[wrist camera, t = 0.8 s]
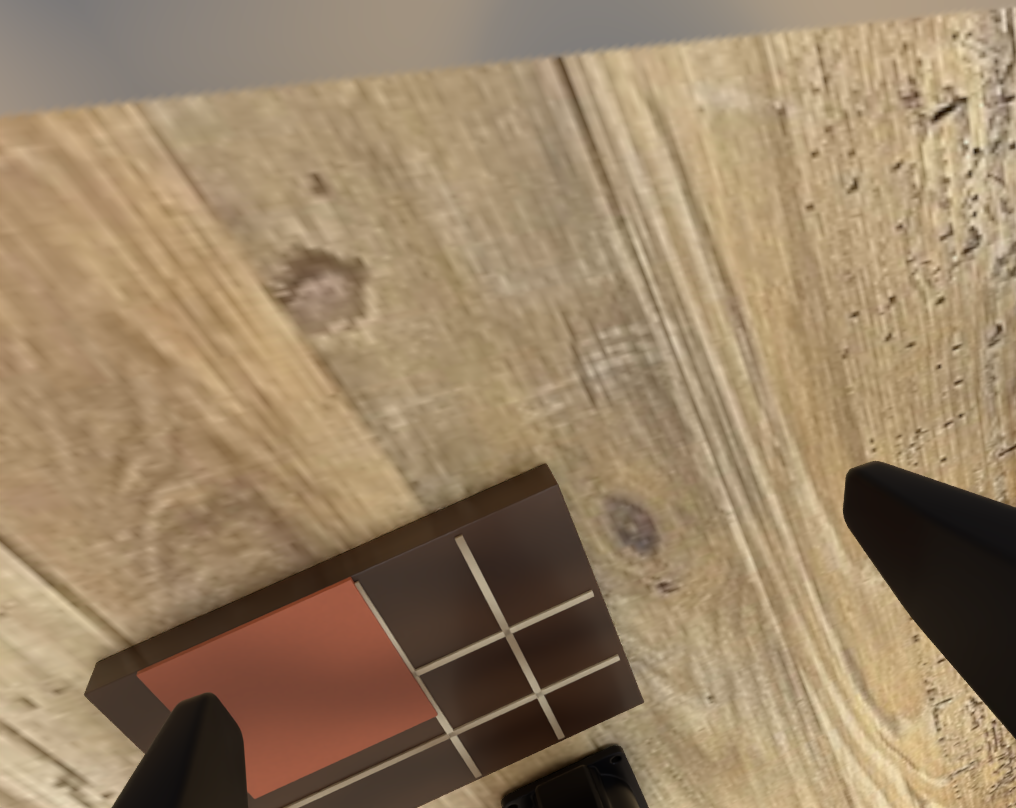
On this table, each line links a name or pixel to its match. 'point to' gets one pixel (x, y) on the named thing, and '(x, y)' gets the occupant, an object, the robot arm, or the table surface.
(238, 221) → the table surface
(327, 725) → the board
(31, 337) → the table surface
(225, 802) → the robot arm
